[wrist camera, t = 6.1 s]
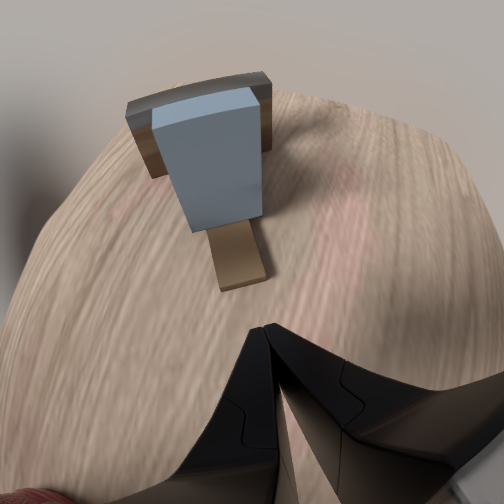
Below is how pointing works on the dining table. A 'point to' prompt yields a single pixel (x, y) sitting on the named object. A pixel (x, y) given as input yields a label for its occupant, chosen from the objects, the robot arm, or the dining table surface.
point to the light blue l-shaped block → (213, 156)
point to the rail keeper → (140, 123)
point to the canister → (33, 497)
